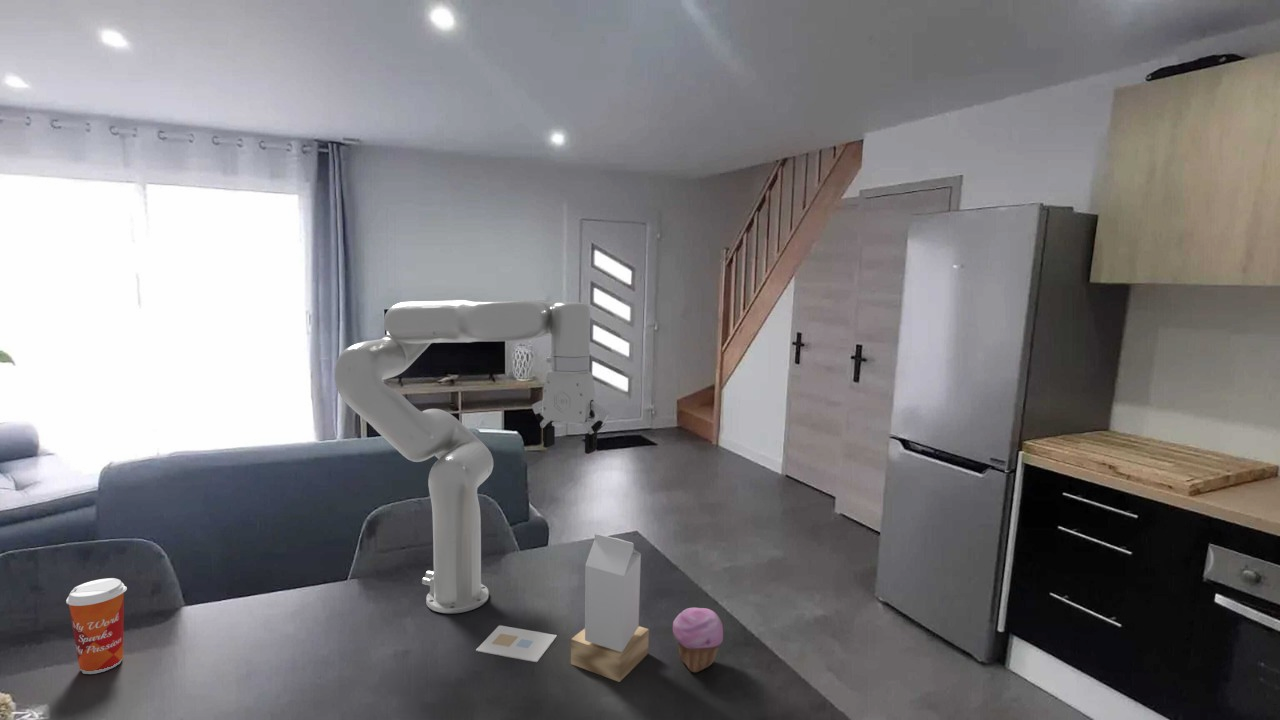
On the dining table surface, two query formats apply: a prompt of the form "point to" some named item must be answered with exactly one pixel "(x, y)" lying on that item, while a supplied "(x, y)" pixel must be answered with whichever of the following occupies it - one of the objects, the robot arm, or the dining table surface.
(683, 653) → the cupcake
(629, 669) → the oak brick
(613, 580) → the milk carton
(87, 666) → the paper cup
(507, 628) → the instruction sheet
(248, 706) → the dining table surface
